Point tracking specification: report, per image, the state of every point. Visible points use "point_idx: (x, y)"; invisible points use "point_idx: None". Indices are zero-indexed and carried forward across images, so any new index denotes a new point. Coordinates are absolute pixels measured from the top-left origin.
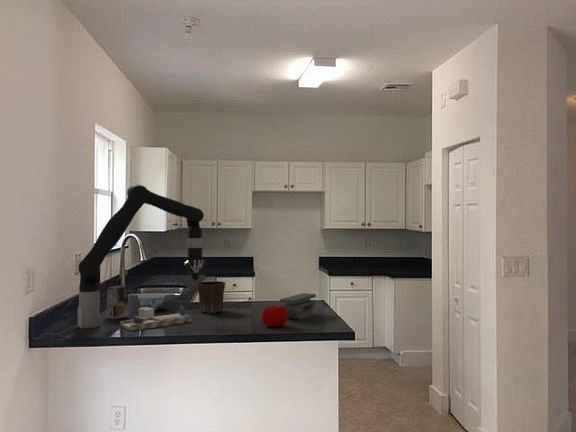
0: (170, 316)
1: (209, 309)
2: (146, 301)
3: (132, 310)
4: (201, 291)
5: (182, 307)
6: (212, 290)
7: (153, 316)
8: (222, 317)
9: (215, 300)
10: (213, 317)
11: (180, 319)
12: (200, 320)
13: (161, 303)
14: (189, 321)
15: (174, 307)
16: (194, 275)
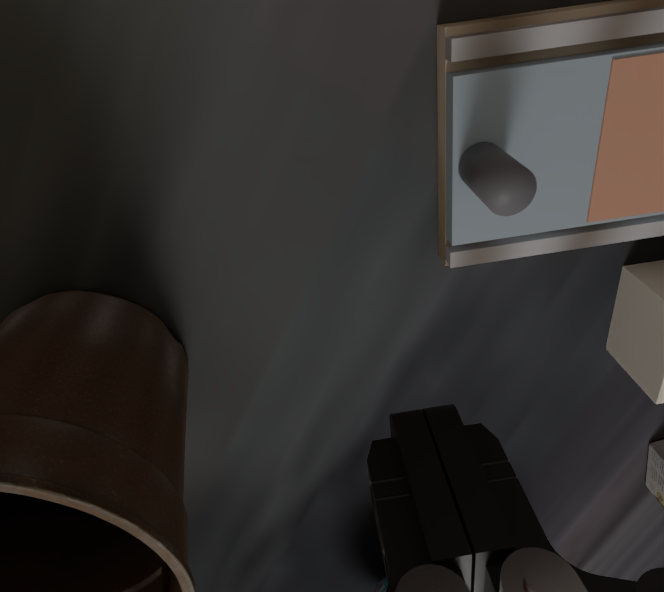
0: (618, 132)
1: (129, 321)
2: None
3: None
4: (171, 485)
5: (524, 167)
6: (35, 431)
7: (645, 280)
8: (65, 61)
9: (39, 353)
10: (157, 117)
11: (573, 19)
12: (332, 41)
13: (384, 582)
14: (463, 21)
15: (286, 566)
16: (491, 497)
